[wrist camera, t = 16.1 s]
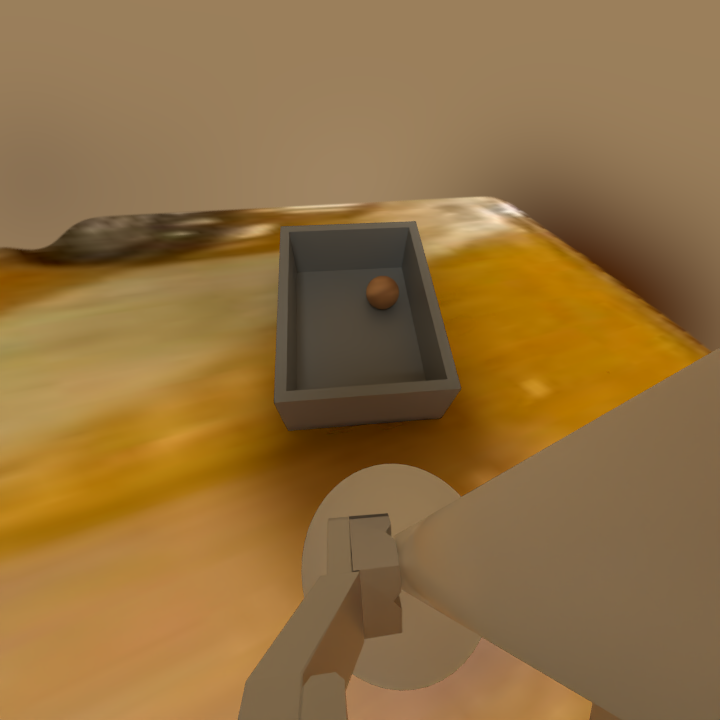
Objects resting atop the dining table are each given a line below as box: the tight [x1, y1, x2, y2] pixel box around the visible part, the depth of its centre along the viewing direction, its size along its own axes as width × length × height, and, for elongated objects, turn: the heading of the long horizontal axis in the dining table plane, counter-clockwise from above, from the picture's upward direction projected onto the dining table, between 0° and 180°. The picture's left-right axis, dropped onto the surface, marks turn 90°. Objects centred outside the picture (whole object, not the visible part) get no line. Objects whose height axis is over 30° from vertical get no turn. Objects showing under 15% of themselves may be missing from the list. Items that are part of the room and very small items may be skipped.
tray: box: [274, 221, 461, 431], centre depth 30 cm, size 13×18×6 cm
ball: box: [366, 276, 399, 309], centre depth 32 cm, size 3×3×3 cm
